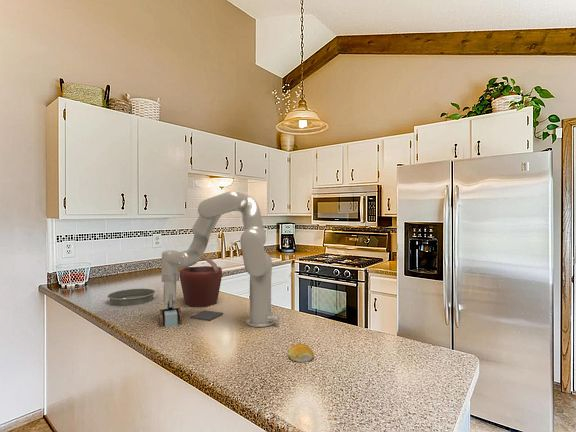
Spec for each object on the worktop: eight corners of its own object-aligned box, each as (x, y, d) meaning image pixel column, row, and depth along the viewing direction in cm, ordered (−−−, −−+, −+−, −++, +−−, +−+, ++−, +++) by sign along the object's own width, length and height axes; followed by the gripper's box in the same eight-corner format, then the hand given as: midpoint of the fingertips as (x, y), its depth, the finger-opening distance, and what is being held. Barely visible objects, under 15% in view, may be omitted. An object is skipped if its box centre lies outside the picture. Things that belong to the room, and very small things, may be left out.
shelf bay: (182, 324, 144) (182, 316, 144) (160, 327, 141) (160, 318, 141) (179, 314, 158) (179, 307, 158) (159, 317, 154) (159, 309, 154)
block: (177, 325, 143) (177, 314, 143) (165, 327, 141) (165, 315, 141) (176, 320, 149) (176, 309, 149) (164, 322, 147) (164, 311, 147)
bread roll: (308, 350, 116) (308, 339, 116) (316, 361, 107) (316, 349, 107) (285, 353, 114) (285, 341, 114) (291, 364, 105) (291, 351, 105)
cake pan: (108, 298, 191) (108, 290, 191) (154, 294, 201) (154, 286, 201) (105, 309, 169) (105, 300, 169) (156, 303, 179) (156, 295, 179)
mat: (223, 314, 159) (223, 312, 159) (209, 321, 148) (209, 319, 148) (204, 311, 163) (204, 310, 163) (189, 318, 153) (189, 316, 153)
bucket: (173, 302, 182) (173, 257, 182) (209, 295, 196) (209, 253, 196) (193, 311, 163) (193, 261, 163) (231, 303, 178) (231, 257, 178)
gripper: (161, 275, 156) (161, 314, 156) (161, 281, 142) (161, 323, 142) (177, 274, 159) (177, 312, 159) (180, 280, 145) (179, 321, 145)
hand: (170, 317), depth 151 cm, fingers closed
